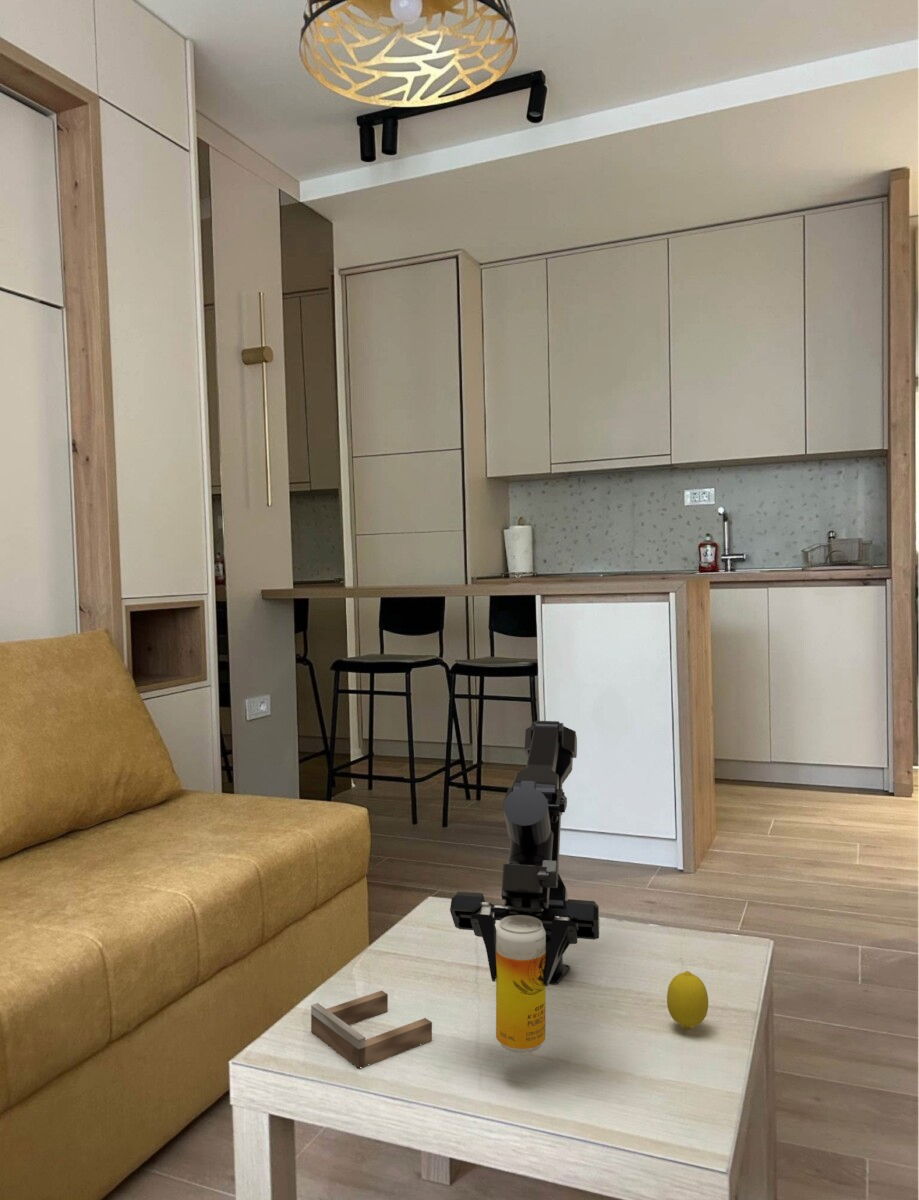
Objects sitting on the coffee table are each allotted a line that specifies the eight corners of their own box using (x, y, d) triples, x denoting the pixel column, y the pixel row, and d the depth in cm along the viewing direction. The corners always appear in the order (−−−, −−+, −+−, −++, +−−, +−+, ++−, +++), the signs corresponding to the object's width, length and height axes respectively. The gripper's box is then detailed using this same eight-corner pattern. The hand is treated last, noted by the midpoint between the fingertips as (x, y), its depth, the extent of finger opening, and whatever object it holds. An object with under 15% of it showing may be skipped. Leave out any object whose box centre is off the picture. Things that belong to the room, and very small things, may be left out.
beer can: (537, 1059, 108) (538, 935, 107) (489, 1050, 110) (489, 928, 110) (550, 1035, 114) (551, 917, 113) (504, 1026, 116) (505, 911, 115)
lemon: (661, 1020, 127) (661, 963, 127) (699, 1019, 127) (700, 962, 127) (674, 1040, 121) (674, 980, 121) (714, 1038, 122) (714, 979, 122)
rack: (381, 1007, 130) (381, 982, 130) (431, 1040, 121) (432, 1013, 121) (311, 1032, 123) (311, 1005, 123) (358, 1069, 114) (358, 1039, 114)
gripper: (452, 830, 117) (434, 949, 106) (599, 838, 113) (594, 963, 103) (464, 870, 125) (447, 985, 114) (601, 879, 121) (597, 999, 111)
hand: (519, 982), depth 110 cm, fingers closed on beer can, 6 cm apart
